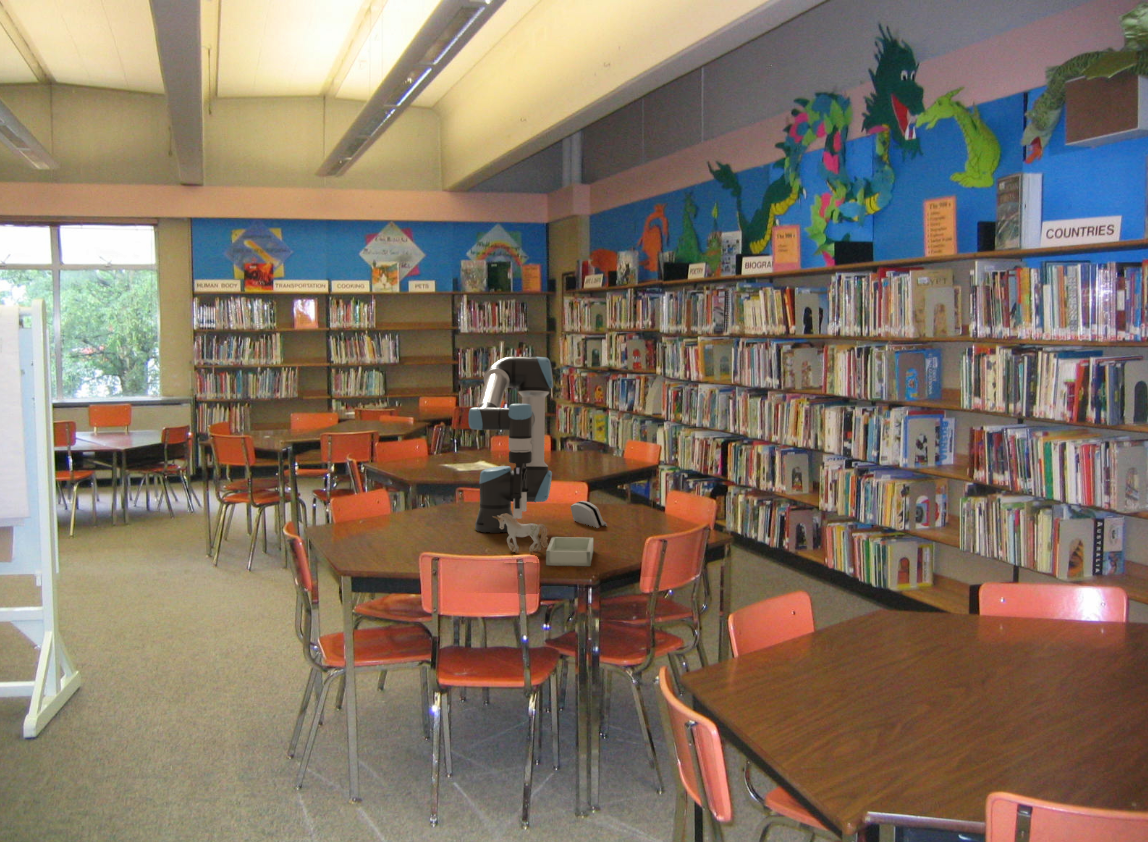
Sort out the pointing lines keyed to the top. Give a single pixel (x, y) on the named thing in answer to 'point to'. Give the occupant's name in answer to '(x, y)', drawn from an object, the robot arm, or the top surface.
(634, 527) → the top surface
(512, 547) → the unicorn figurine
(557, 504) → the top surface
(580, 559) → the tray
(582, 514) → the grey curved block
